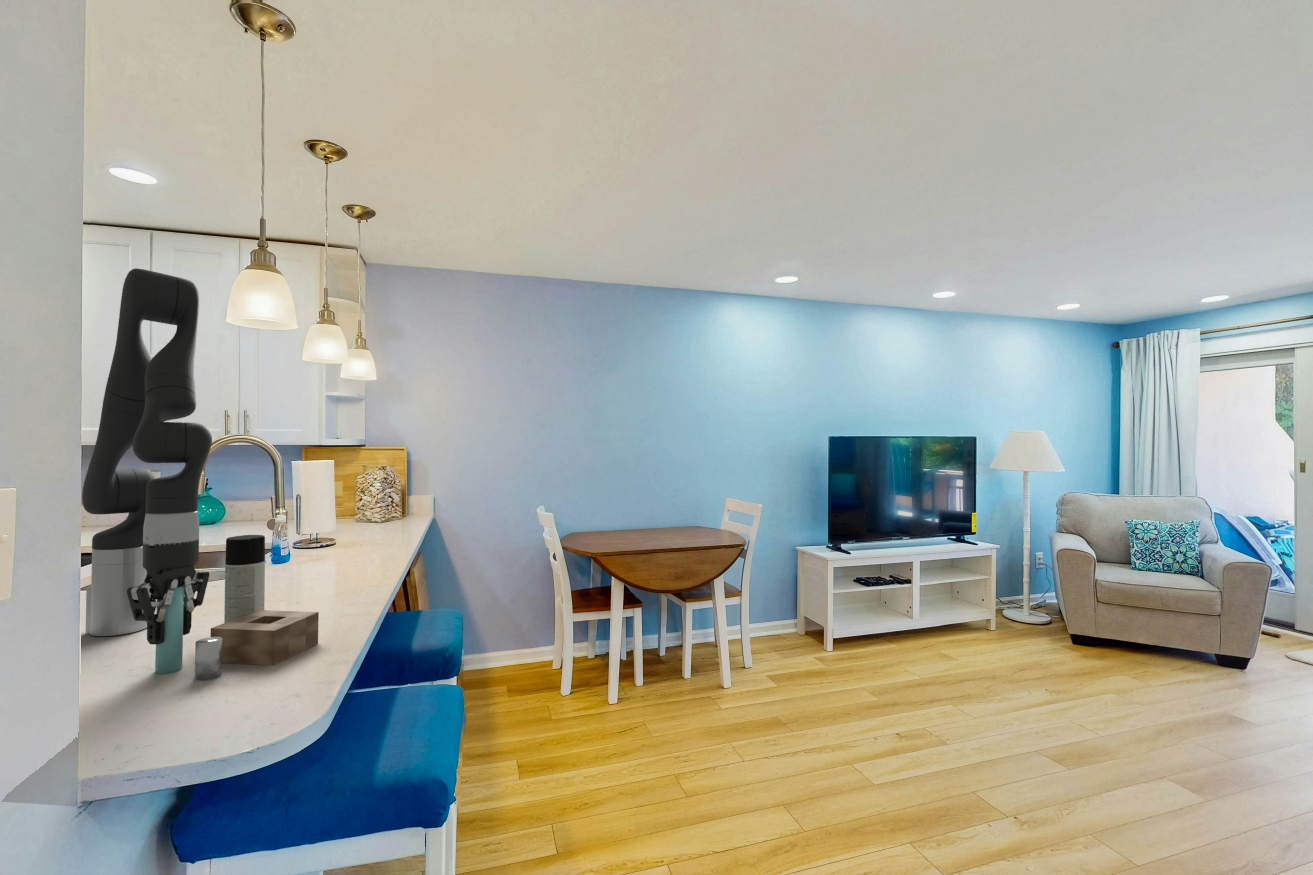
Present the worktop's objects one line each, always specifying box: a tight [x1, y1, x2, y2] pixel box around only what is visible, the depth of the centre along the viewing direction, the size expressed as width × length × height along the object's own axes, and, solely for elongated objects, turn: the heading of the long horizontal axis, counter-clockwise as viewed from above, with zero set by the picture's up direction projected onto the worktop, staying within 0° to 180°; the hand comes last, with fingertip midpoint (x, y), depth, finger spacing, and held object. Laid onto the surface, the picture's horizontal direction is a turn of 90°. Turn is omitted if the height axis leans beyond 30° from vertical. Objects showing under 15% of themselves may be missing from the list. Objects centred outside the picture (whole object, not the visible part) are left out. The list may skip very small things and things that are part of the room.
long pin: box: [154, 586, 184, 675], centre depth 104 cm, size 4×4×14 cm
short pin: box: [194, 636, 223, 682], centre depth 101 cm, size 4×4×6 cm
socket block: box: [209, 609, 320, 666], centre depth 113 cm, size 12×12×6 cm
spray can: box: [223, 534, 266, 624], centre depth 122 cm, size 7×7×20 cm
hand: (169, 638), depth 103 cm, fingers open, 4 cm apart
